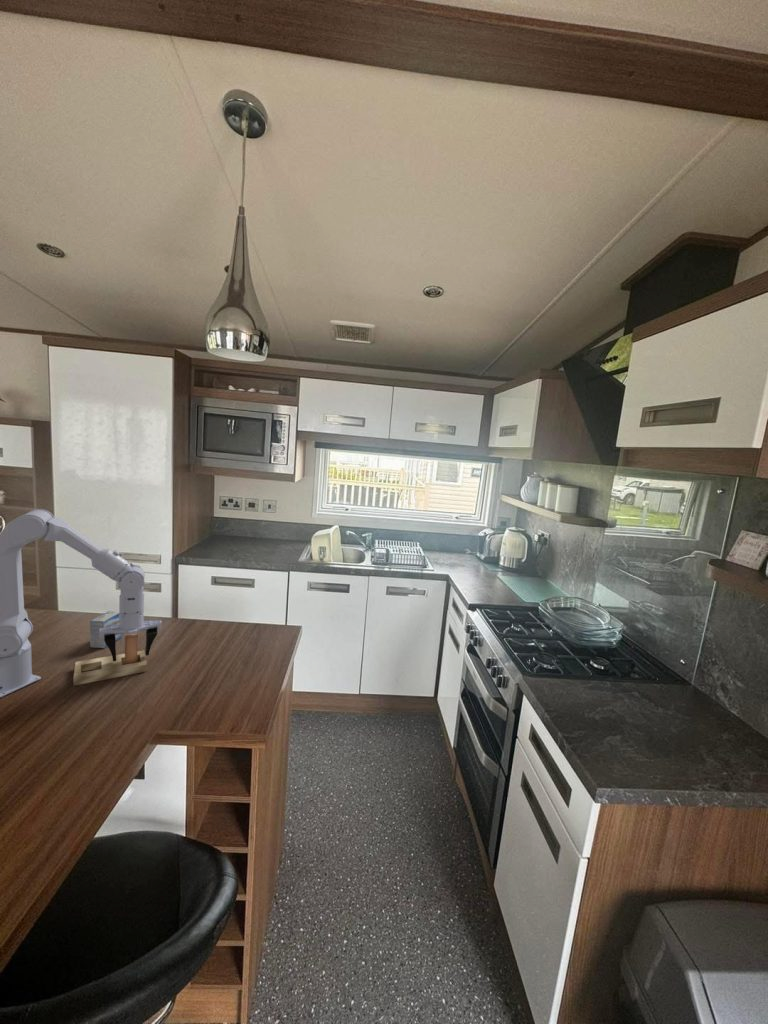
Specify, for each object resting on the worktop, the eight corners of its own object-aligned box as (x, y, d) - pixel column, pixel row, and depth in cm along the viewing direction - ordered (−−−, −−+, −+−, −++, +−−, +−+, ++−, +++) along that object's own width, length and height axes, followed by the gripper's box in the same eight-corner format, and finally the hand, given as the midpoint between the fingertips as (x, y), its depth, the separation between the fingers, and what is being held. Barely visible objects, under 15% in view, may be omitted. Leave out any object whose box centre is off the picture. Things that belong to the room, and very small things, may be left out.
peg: (130, 670, 109) (130, 639, 108) (121, 667, 110) (122, 637, 109) (139, 665, 112) (140, 635, 111) (131, 662, 113) (131, 632, 112)
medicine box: (104, 649, 119) (104, 621, 118) (89, 647, 119) (89, 620, 118) (122, 637, 127) (122, 611, 125) (108, 636, 127) (108, 610, 126)
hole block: (73, 685, 100) (73, 678, 100) (75, 668, 107) (75, 661, 107) (146, 671, 109) (146, 664, 109) (144, 656, 117) (144, 650, 116)
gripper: (99, 619, 101) (99, 669, 103) (163, 611, 110) (162, 657, 112) (99, 610, 107) (99, 657, 109) (160, 603, 116) (159, 646, 117)
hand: (131, 656), depth 111 cm, fingers open, 7 cm apart
